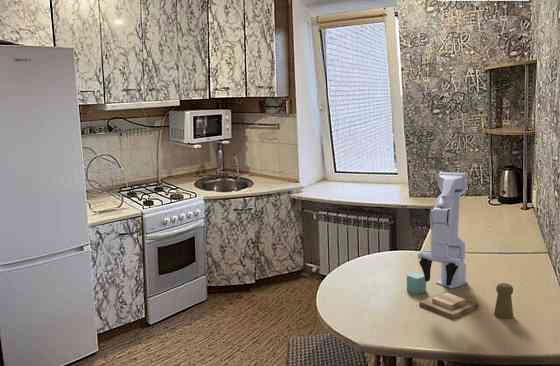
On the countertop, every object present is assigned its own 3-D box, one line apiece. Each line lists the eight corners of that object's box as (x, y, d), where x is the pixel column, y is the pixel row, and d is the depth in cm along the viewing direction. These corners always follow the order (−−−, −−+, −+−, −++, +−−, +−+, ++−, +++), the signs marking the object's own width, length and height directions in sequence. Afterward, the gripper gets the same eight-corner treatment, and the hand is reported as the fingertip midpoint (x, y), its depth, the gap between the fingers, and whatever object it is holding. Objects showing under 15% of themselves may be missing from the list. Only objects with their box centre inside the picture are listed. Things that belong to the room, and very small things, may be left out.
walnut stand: (444, 295, 199) (445, 287, 198) (478, 307, 188) (478, 299, 187) (419, 305, 191) (419, 297, 191) (452, 318, 180) (452, 310, 179)
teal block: (415, 287, 208) (415, 272, 207) (426, 290, 204) (426, 275, 203) (406, 290, 205) (406, 275, 204) (417, 294, 201) (417, 278, 200)
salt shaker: (501, 320, 177) (503, 288, 175) (489, 313, 183) (491, 282, 181) (517, 317, 179) (518, 286, 177) (505, 310, 185) (506, 280, 183)
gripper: (414, 241, 184) (412, 281, 185) (455, 248, 174) (453, 289, 175) (424, 239, 189) (422, 277, 190) (464, 245, 180) (462, 285, 181)
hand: (437, 283), depth 183 cm, fingers open, 7 cm apart
